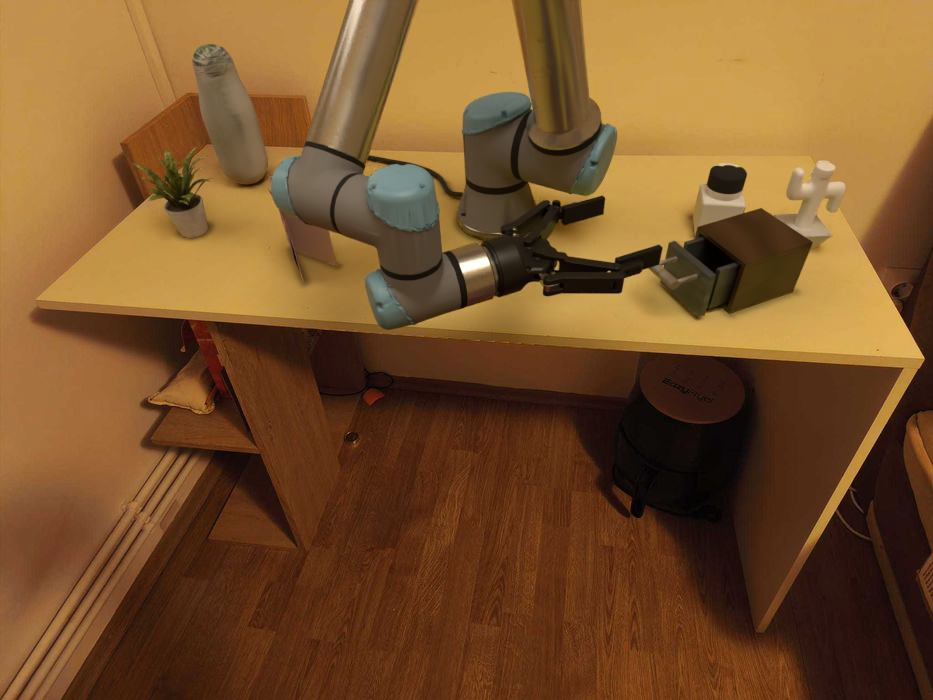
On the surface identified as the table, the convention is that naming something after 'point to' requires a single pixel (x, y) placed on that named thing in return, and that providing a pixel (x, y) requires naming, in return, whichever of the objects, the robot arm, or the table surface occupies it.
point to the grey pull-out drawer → (698, 274)
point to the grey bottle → (229, 116)
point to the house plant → (180, 195)
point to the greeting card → (308, 240)
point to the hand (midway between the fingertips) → (629, 228)
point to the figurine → (813, 201)
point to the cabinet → (759, 255)
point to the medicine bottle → (720, 195)
